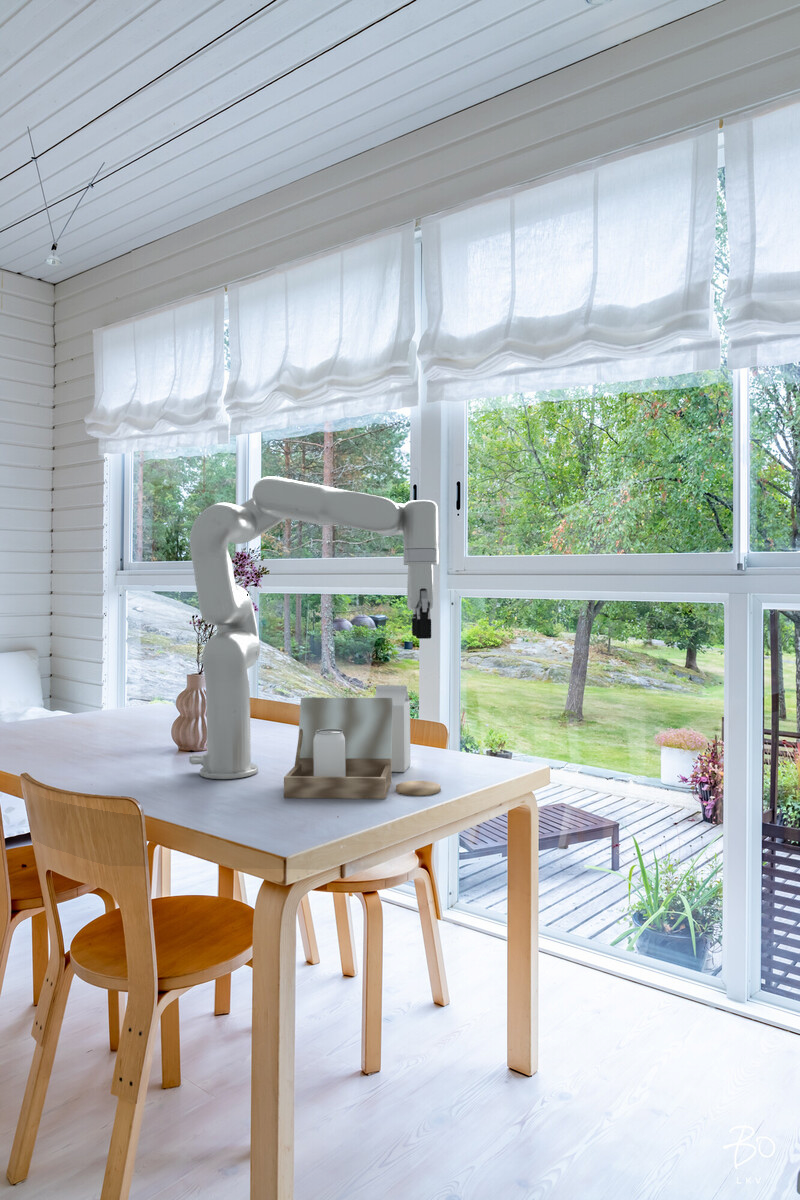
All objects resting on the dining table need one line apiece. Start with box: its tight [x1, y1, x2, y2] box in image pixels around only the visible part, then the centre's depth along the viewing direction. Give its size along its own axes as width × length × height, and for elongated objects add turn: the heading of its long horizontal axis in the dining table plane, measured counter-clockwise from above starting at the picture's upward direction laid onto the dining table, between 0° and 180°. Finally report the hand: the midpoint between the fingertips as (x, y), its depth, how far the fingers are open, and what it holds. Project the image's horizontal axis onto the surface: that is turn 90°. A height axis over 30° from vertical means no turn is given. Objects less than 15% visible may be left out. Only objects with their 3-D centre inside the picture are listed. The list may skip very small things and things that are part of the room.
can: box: [313, 729, 346, 777], centre depth 162 cm, size 6×6×12 cm
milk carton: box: [373, 684, 411, 773], centre depth 181 cm, size 7×7×19 cm
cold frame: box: [283, 697, 393, 800], centre depth 165 cm, size 20×18×17 cm
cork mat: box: [395, 780, 441, 797], centre depth 162 cm, size 9×9×1 cm
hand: (421, 637), depth 173 cm, fingers open, 9 cm apart
